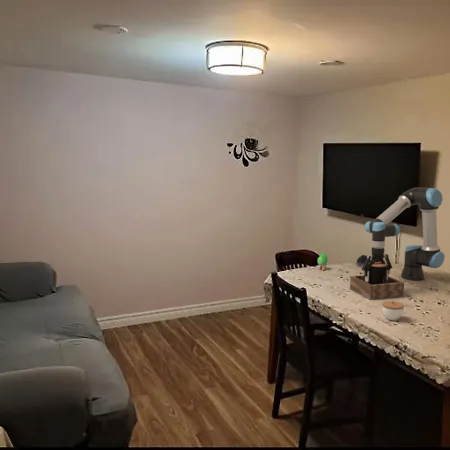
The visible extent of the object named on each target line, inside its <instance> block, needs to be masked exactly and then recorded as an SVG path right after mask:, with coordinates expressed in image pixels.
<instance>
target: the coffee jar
mask: <svg viewBox="0 0 450 450" xmlns="http://www.w3.org/2000/svg"><path fill="white" fill-rule="evenodd" d="M386 266H387V263H386V264H383V263H381V262H375V263H374V264H373V265H372V267H371V268H370V269H369V282H368V283H369V284H371V285H376V284H386Z"/></svg>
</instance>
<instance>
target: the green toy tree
mask: <svg viewBox="0 0 450 450" xmlns="http://www.w3.org/2000/svg"><path fill="white" fill-rule="evenodd" d="M327 263H328V255H327V254H326V253H325V252H321V253H320V255H319V257H318V258H317V267H318V268H317V269H320V270H319V271H322V270H325V268H327V267H328V266H327ZM319 267H320V268H319ZM327 269H328V268H327Z"/></svg>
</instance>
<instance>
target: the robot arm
mask: <svg viewBox="0 0 450 450" xmlns="http://www.w3.org/2000/svg"><path fill="white" fill-rule="evenodd" d="M443 200H444V199H443V194H442V191H440V190H439V189H437V188H433V187H420V186H418V187H413V188H412V187H411V188H410V189H408V190H406V191H405V192H403V193H402V194H400V195H399V196H398V199H397V200H396V201H395V202H394V203H393V204H391V205H390V206H389V207H388V208H387V209H386V210H384V211H383V212H382V213H381V214H379V216H377V217H376V218H375V219H374V220H373V221H372V220H371V221H370V220H369V221H367V222H366V223H365V225H364V229H365V231H366V232H367V233H369V234H371V237H372V239H371V255H366V256H367V259H366V261H365V263H364V265H363V267H361V270H362V271H363V272H364V274H363V275H365V281H366V282H369V269H370V268H371V267H372V265H373V264H374V263H375V262H381V263H383V264H387V266H386V280H388V276H389V275H390V271H391V269H393V266H392V263H391V260H390V258H389V254H387V253H385V243H386V238H389V237H397V236H398V235H400V232H401V228H400V226H399V225H398V224H397V223H391V222H392V221H393V220H394V219H395V218H396V217H398V216H399V215H400V214H401V213H402V212H403V211H405V210H406V209H407V208H410V207H411V206H415V205H417V206H418V207H419V210H420V211H421V218H422V235H423V236H422V238H423V239H422V240H423V242H422V243H423V245H422V244H421V245H419V244H415V245H414V244H412V245H407V246H405V249H404V263H403V264H404V266H403V268H402V271H401V273H400V277H401V279H404V280H409V281H423V280H425V273H424V270H423V267H428V268H430V269H431V268H432V269H438V268H440V267H441V266H442V265H443V264H444V262H445V258H446V257H445V254H444V252H443V251H441V247H440V246H439V243H438V226H437V225H438V224H437V223H438V221H437V218H438V217H437V210H439V207H440V206H441V205H442V203H443ZM384 259H385V260H384ZM370 260H371V261H370ZM369 262H370V263H369Z"/></svg>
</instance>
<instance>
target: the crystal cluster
mask: <svg viewBox="0 0 450 450" xmlns="http://www.w3.org/2000/svg"><path fill="white" fill-rule="evenodd" d="M366 259H367V255H366V254H361V255H360V256H359V257H358V258H357V259H356V267H359V268H362V267H363V265H364V263H365V261H366ZM370 261H371V259H370ZM369 263H370V262H369Z"/></svg>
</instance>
